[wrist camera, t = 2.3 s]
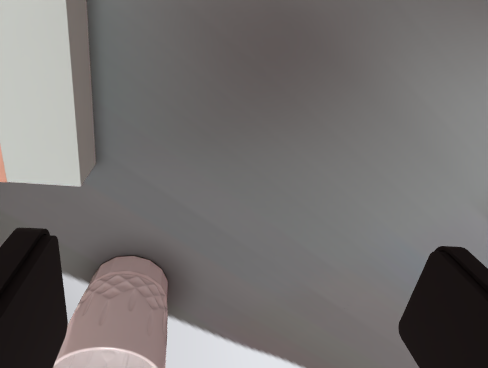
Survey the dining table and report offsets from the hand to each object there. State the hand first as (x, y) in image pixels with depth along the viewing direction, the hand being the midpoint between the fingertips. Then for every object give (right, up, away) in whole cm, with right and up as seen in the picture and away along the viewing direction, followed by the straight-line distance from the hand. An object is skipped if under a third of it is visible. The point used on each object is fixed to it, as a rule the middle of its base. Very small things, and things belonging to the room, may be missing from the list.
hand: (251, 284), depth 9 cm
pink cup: (-11, -7, +24) cm, 27 cm away
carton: (-15, +10, +15) cm, 23 cm away
